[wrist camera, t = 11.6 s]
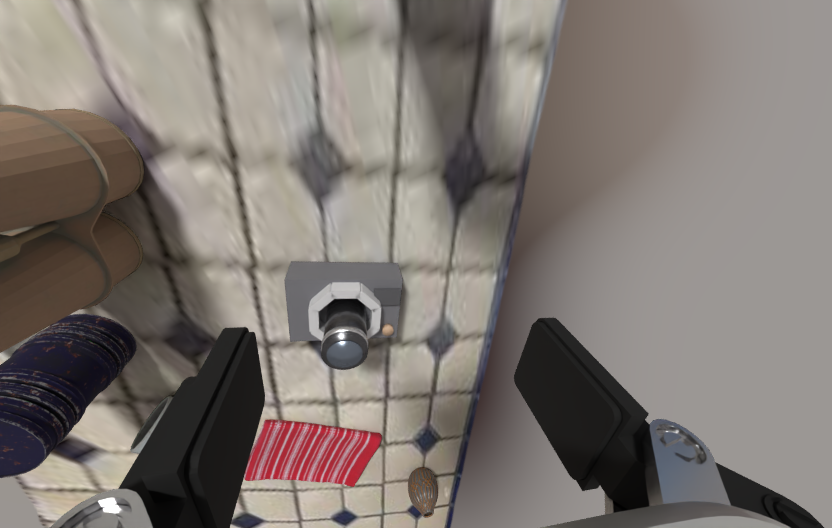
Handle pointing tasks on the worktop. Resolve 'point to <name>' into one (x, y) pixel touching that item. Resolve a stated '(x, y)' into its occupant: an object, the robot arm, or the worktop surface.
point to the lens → (345, 334)
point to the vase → (423, 491)
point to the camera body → (342, 296)
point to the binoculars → (61, 215)
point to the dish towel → (310, 453)
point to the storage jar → (56, 385)
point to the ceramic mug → (149, 426)
